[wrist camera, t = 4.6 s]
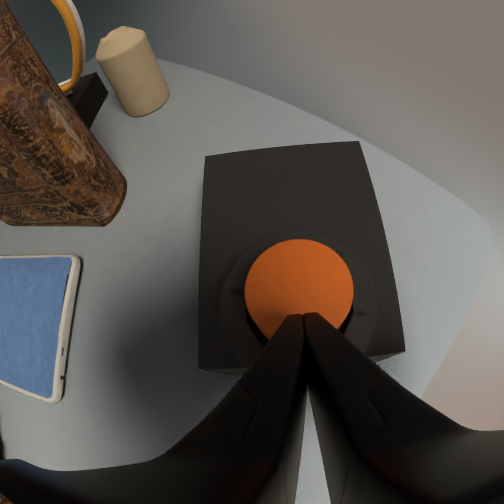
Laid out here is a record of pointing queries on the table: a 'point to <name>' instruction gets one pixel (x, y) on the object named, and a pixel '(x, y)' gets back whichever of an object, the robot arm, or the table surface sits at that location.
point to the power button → (298, 284)
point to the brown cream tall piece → (5, 500)
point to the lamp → (80, 68)
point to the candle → (132, 70)
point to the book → (47, 146)
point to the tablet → (36, 322)
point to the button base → (288, 228)
